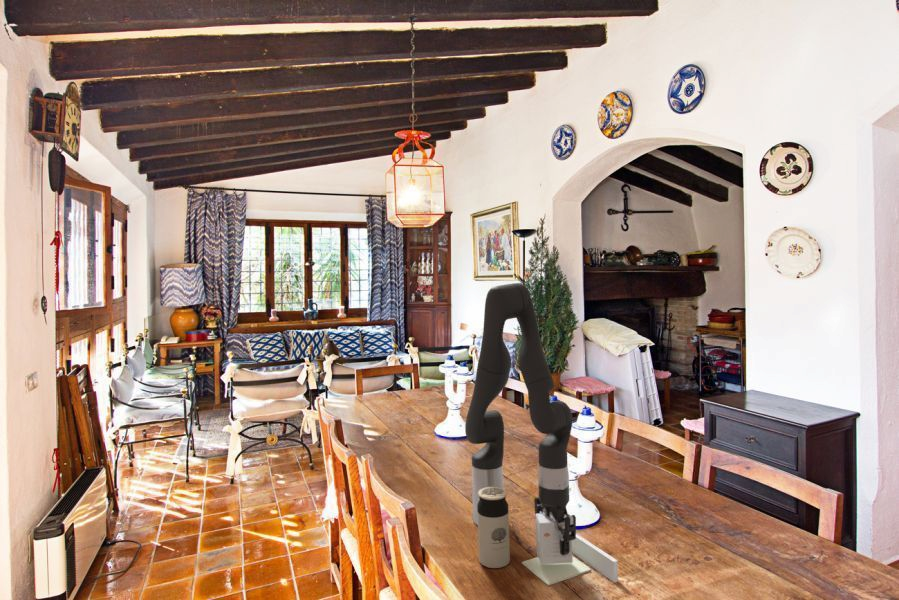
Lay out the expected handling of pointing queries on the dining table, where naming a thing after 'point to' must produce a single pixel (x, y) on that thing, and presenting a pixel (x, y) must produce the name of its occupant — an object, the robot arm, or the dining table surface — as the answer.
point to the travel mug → (493, 527)
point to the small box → (550, 541)
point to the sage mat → (555, 570)
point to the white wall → (595, 558)
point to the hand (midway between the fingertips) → (555, 547)
